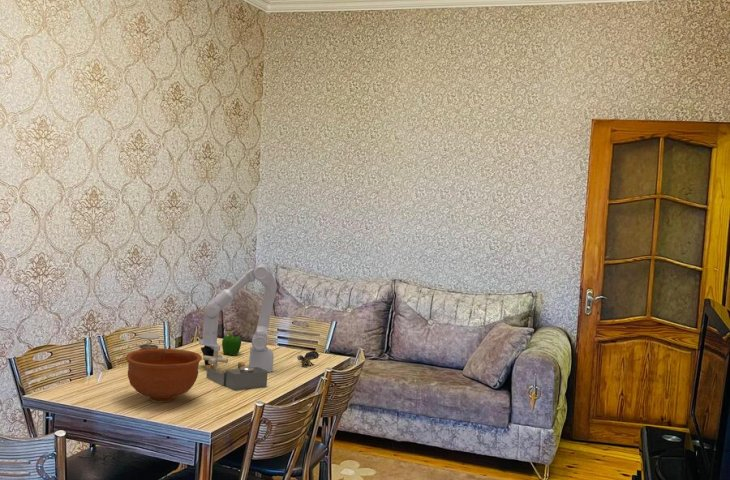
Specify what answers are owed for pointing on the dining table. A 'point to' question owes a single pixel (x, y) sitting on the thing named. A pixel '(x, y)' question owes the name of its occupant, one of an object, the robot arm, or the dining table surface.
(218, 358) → the pipe connector
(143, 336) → the french press
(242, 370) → the motor mount
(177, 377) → the bowl
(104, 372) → the dining table surface
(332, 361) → the dining table surface
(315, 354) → the eagle figurine
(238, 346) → the bell pepper
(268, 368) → the robot arm
